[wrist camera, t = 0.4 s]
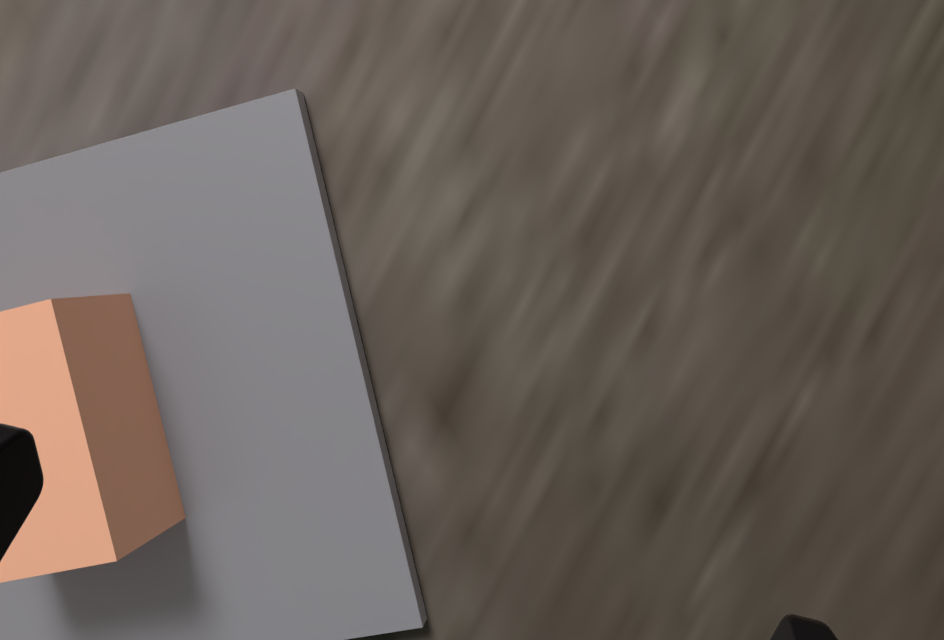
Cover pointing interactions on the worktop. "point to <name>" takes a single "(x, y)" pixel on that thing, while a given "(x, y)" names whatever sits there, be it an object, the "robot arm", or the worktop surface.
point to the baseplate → (222, 385)
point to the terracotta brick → (85, 433)
